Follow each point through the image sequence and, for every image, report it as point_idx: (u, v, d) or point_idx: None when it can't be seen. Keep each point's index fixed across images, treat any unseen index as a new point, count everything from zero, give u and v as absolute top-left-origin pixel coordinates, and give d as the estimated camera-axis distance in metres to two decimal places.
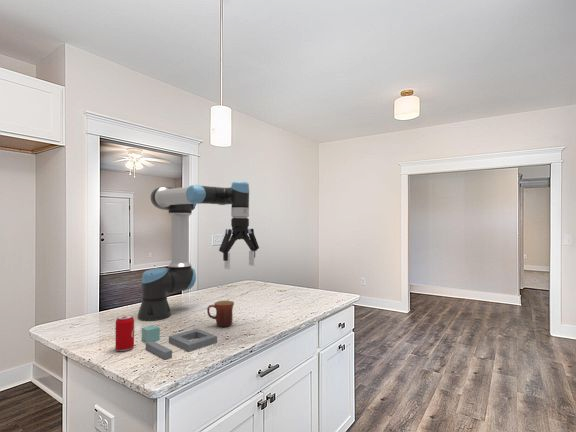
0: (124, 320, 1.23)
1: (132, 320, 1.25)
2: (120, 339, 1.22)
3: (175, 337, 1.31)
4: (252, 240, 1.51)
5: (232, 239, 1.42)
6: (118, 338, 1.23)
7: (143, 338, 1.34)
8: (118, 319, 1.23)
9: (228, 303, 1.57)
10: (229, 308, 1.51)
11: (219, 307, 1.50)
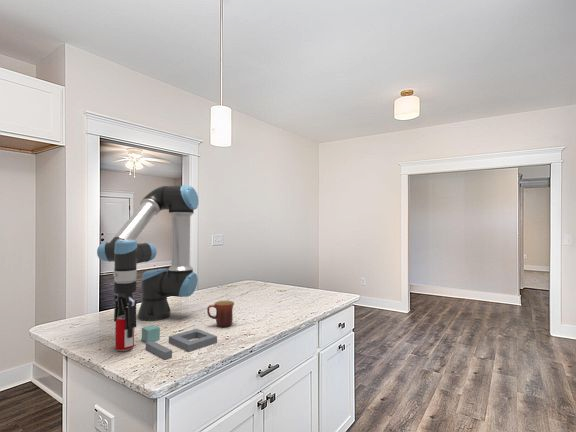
0: (124, 320, 1.23)
1: None
2: (120, 339, 1.22)
3: (175, 337, 1.31)
4: None
5: None
6: (118, 338, 1.23)
7: (143, 338, 1.34)
8: (118, 319, 1.23)
9: (228, 303, 1.57)
10: (229, 308, 1.51)
11: (219, 307, 1.50)
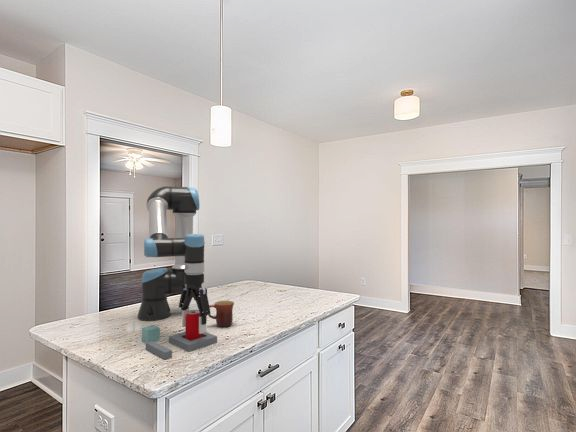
0: (194, 315, 1.30)
1: None
2: (191, 332, 1.30)
3: (175, 337, 1.31)
4: None
5: None
6: (188, 331, 1.30)
7: (143, 338, 1.34)
8: (188, 314, 1.31)
9: (228, 303, 1.57)
10: (229, 308, 1.51)
11: (219, 307, 1.50)
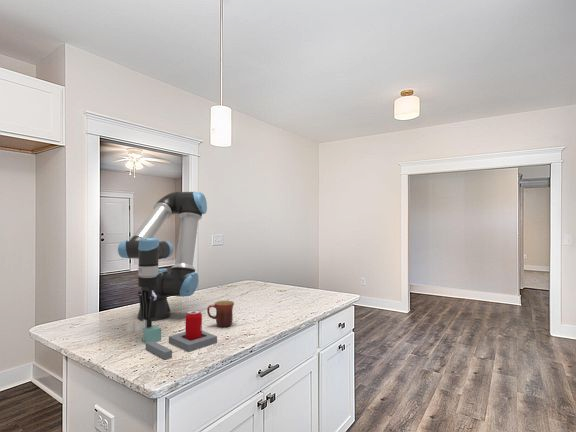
0: (194, 315, 1.30)
1: (201, 315, 1.32)
2: (191, 332, 1.30)
3: (175, 337, 1.31)
4: None
5: None
6: (188, 331, 1.30)
7: (144, 338, 1.33)
8: (188, 314, 1.31)
9: (228, 303, 1.58)
10: (229, 308, 1.51)
11: (219, 307, 1.50)
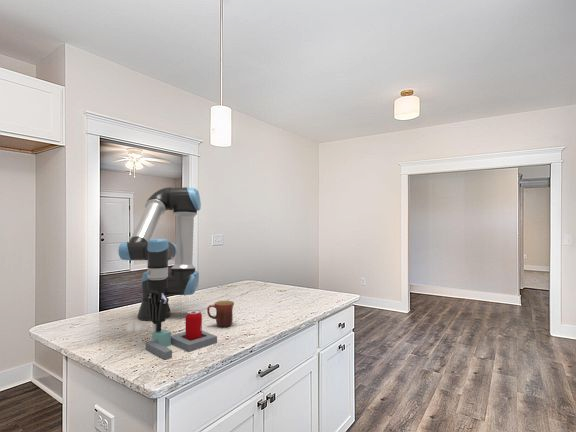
0: (194, 315, 1.30)
1: (201, 315, 1.32)
2: (191, 332, 1.30)
3: (175, 337, 1.31)
4: None
5: None
6: (188, 331, 1.30)
7: None
8: (188, 314, 1.31)
9: (228, 303, 1.57)
10: (229, 308, 1.51)
11: (219, 307, 1.50)
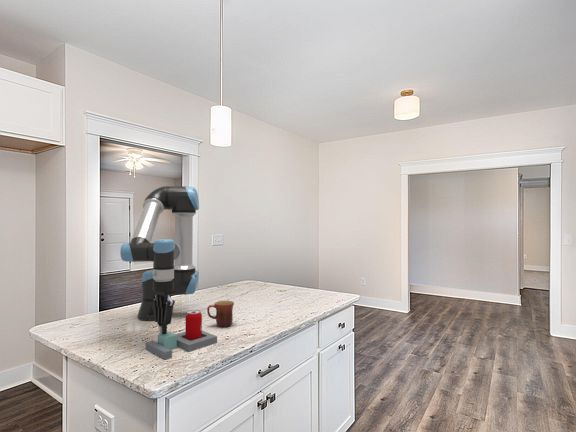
0: (194, 315, 1.30)
1: (201, 315, 1.32)
2: (191, 332, 1.30)
3: None
4: None
5: None
6: (188, 331, 1.30)
7: None
8: (188, 314, 1.31)
9: (228, 303, 1.57)
10: (229, 308, 1.51)
11: (219, 307, 1.50)
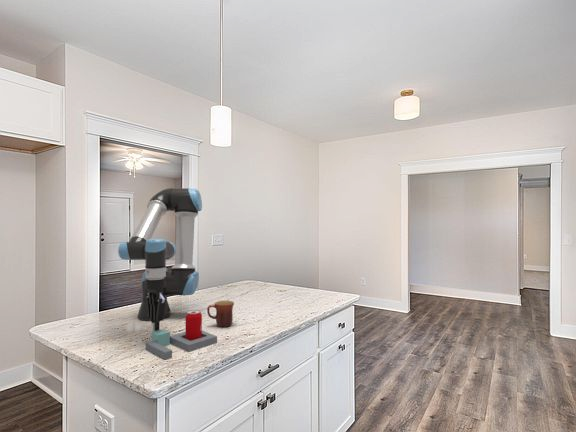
0: (194, 315, 1.30)
1: (201, 315, 1.32)
2: (191, 332, 1.30)
3: (175, 337, 1.31)
4: None
5: None
6: (188, 331, 1.30)
7: None
8: (188, 314, 1.31)
9: (228, 303, 1.57)
10: (229, 308, 1.51)
11: (219, 307, 1.50)
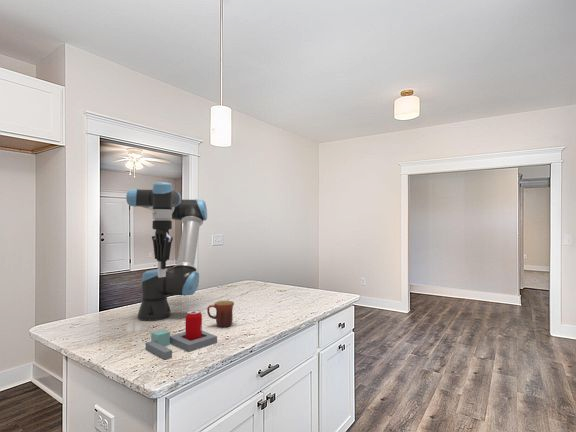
0: (194, 315, 1.30)
1: (201, 315, 1.32)
2: (191, 332, 1.30)
3: (175, 337, 1.31)
4: None
5: None
6: (188, 331, 1.30)
7: None
8: (188, 314, 1.31)
9: (228, 303, 1.58)
10: (229, 308, 1.51)
11: (219, 307, 1.50)
